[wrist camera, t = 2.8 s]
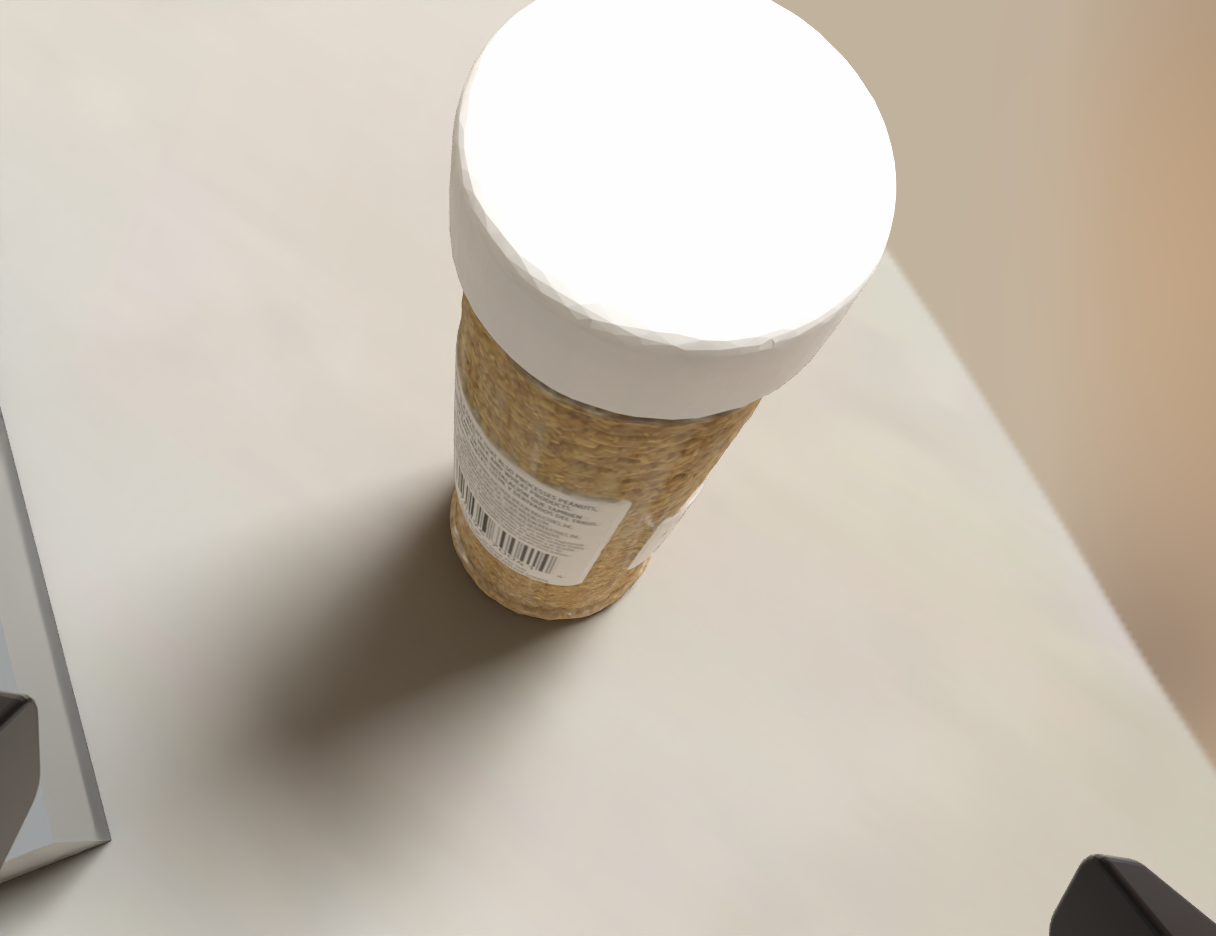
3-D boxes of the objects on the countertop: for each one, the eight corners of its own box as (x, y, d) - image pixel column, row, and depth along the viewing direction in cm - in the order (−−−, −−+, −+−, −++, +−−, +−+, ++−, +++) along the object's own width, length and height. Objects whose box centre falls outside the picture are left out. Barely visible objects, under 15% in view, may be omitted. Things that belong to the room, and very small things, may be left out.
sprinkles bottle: (689, 566, 23) (999, 240, 10) (504, 661, 21) (595, 423, 9) (591, 394, 24) (763, -99, 11) (409, 474, 22) (369, 19, 10)
